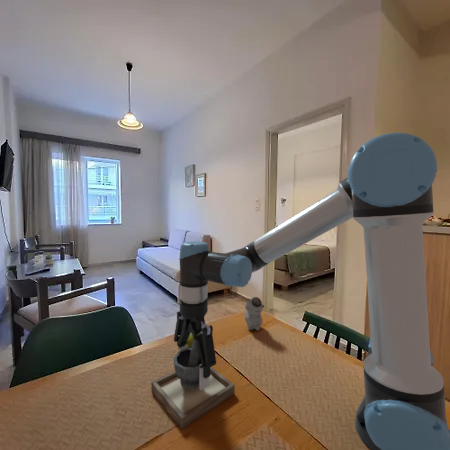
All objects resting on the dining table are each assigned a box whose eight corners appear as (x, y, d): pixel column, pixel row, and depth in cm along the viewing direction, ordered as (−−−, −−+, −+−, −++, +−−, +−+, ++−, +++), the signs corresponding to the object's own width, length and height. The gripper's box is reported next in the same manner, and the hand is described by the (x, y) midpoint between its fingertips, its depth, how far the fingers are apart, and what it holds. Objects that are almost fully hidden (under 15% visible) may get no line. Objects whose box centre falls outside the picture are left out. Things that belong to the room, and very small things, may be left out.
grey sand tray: (234, 394, 70) (234, 385, 70) (181, 429, 59) (182, 418, 59) (200, 365, 82) (200, 358, 82) (151, 390, 71) (151, 381, 71)
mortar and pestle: (200, 398, 64) (200, 353, 63) (167, 390, 67) (167, 346, 66) (215, 370, 75) (215, 331, 74) (186, 364, 77) (186, 326, 76)
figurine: (240, 333, 104) (241, 297, 103) (248, 322, 113) (248, 290, 112) (261, 337, 101) (262, 301, 99) (267, 326, 110) (268, 293, 109)
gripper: (231, 308, 63) (230, 393, 64) (183, 285, 79) (183, 353, 81) (207, 316, 58) (206, 408, 60) (161, 290, 74) (161, 363, 76)
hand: (193, 377), depth 70 cm, fingers closed on mortar and pestle, 10 cm apart
